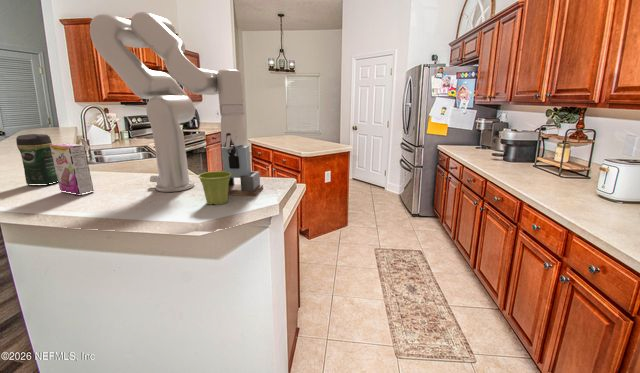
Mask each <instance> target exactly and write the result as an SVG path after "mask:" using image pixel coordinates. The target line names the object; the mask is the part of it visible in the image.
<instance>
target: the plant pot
mask: <svg viewBox="0 0 640 373" xmlns="http://www.w3.org/2000/svg"><path fill="white" fill-rule="evenodd" d="M223 171H224V170H220V171H219V170H218V171H215V170H214V171H207V172H203V173H200V174H198V178H199V180H200V182H201V185H202V189H203V192H204V197H205V200H206V204H208V205H215V206H216V205H217V206H218V205H223V204H225V203H227V202H228V198H229V195H228V187H229V180H230V176H231V173H229V172H223Z"/></svg>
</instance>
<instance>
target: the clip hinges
mask: <svg viewBox="0 0 640 373" xmlns="http://www.w3.org/2000/svg"><path fill="white" fill-rule="evenodd" d="M222 171H223V172H224V170H222ZM239 180H240V185H241V191H255V190H256V189H257V188H258V187H259V186H260V185H261V178H260V171H259V170H256V171H253V170H251V176H240V179H239ZM234 185H235V178H230V180H229V186H234Z"/></svg>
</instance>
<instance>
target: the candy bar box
mask: <svg viewBox="0 0 640 373" xmlns="http://www.w3.org/2000/svg"><path fill="white" fill-rule="evenodd" d="M50 149H51V154H52V158H53V162H54V166H55V170H56V174H57V179H58V183H57V184H58V186H59V191H60V190H61V191H66V192H71V193H76V194H82V193H86V192H90V191H95V190H94V186H93V181H92V176H91V171H90V166H89V162H88V156H87V151H86V146H85V145H84V144H76V143H67V142H63V143H60V142H59V143H52V145H50Z"/></svg>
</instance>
